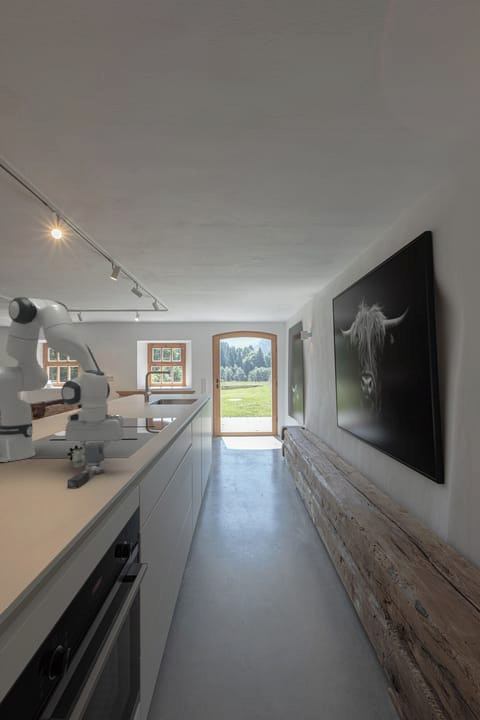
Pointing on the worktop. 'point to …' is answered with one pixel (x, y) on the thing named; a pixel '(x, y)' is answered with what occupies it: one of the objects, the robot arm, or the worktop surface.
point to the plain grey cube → (94, 452)
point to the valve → (77, 456)
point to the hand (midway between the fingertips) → (94, 452)
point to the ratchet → (86, 474)
